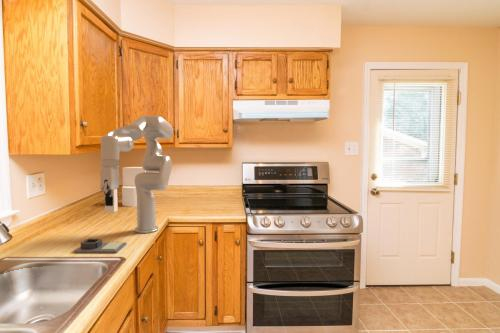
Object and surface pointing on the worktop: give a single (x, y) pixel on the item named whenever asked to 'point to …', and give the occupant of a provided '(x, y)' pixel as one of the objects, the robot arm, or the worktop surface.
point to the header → (99, 246)
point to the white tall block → (130, 185)
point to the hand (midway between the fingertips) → (111, 204)
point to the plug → (115, 204)
